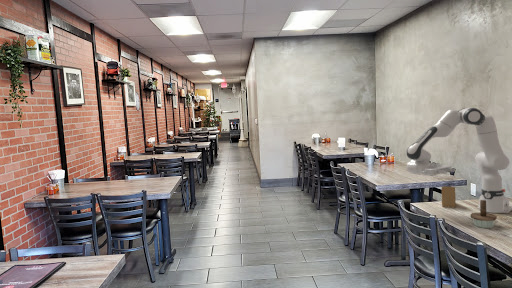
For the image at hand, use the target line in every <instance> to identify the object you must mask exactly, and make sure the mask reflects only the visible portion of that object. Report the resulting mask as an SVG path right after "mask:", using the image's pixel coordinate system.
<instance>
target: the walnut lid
mask: <svg viewBox="0 0 512 288" xmlns="http://www.w3.org/2000/svg"><path fill="white" fill-rule="evenodd" d="M479 201H480V209H479V211H480V212H473V213H470V218H471V219H473V220H474V219H476V220H482V221H493V220H494V221H496V220H497V219H498V218H497V215H496V214H495V213H490V212H486V200H480V199H479Z"/></svg>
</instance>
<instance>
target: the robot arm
mask: <svg viewBox="0 0 512 288" xmlns="http://www.w3.org/2000/svg"><path fill="white" fill-rule="evenodd" d="M461 123H462V124H466V125H472V126H475V129H476V136H477V141H478V145H479V147H480V148H481V150H482V151H479V152H478V153H477V154H476V155H475V158H474V161H475V164H477V166H478V168H479V172H480V176H481V191H480V192H481V195H480V196H479V204H478V206H477V209H479V210H480V200H486V213H490V214H503V213H504V214H508V213H510V212H511V211H512V205H510V200H509V199H508V198H507V197H506V195H505V192H506V189H505V188H503V179H502V178H503V177H502V176H501V175H500V172H499V171H502V170H506V169H507V168H508V167H509V165H510V158H508V156H507V155H506V154H505V153H504V151H503V149H502V146H501V144H500V141H499V137H498V129H497V126H496V122H495V119H494V117H493V116H492V115H489V114H483V112H482V111H481V110H480V109H478V108H476V107H464V108H461V109H459V110H455V109H448V110H447V111H446V112H445V113H444V114H443V115H442V116H441V117H440V118H439V119H438V121H437V122H436V123H435V124H434V125H433V126H430V127H429V128H428V129H426V130H425V131H424V132H423V133H422V134H421V135H420V137H418V138H417V140H416V141H414V143H412V144H411V145H409V146H408V147H407V149H406V156H407V158H408V159H410V160H409V161H407V163H406V171H408V172H409V173H410V174H412V175H419V176H420V175H423V176H427V177H433V176H438V175H440V174H441V175H442V174H445V175H446V174H447V173H449V172H451V173H453V172H456V169H455V168H452V166H451V165H449V164H440V163H438V162H437V163H436V162H431V158H432V154H431V153H430V152H429V151H428V150H427V149H424V147H426V145H427V144H428V143H430V141H431V140H432V139H434V138H447V137H449V136H450V135H451V133H453V131H454V130H455V129H456V127H457V126H458V125H460V124H461Z"/></svg>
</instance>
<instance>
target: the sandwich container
mask: <svg viewBox="0 0 512 288" xmlns="http://www.w3.org/2000/svg"><path fill="white" fill-rule="evenodd" d="M456 201H457V200H456V187H455V186H441V206H442V208H453V209H454V208H456V205H457V204H456Z"/></svg>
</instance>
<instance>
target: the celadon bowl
mask: <svg viewBox="0 0 512 288" xmlns="http://www.w3.org/2000/svg"><path fill="white" fill-rule="evenodd" d="M473 226H475V227H477V228H484V229H489V228H490V229H491V228H494V227H495V220H493V221H482V220H476V219H473Z"/></svg>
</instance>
